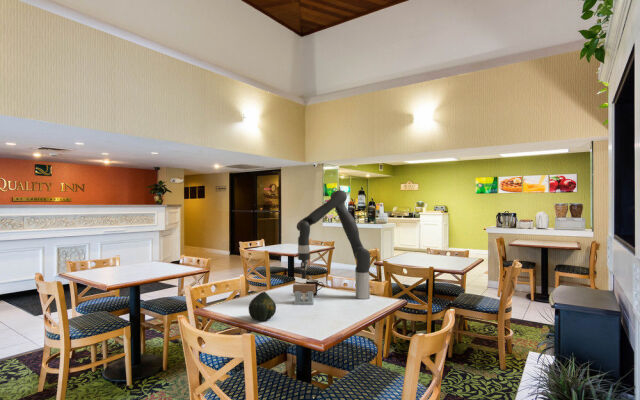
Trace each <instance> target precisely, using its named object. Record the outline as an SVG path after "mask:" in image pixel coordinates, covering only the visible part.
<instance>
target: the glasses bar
mask: <svg viewBox="0 0 640 400" xmlns="http://www.w3.org/2000/svg"><path fill="white" fill-rule="evenodd" d="M295 291H300V293H301V294H303V293H306V294H307V293H308V292H313V293H315V284H306V283H293V285H292V294H295Z"/></svg>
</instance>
